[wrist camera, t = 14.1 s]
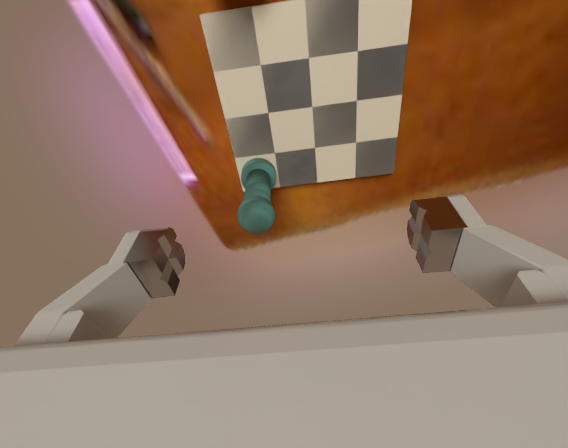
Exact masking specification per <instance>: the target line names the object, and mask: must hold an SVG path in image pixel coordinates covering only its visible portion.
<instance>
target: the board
mask: <svg viewBox="0 0 568 448" xmlns="http://www.w3.org/2000/svg"><path fill="white" fill-rule="evenodd" d="M411 7H412V0H288V1H281V2H275V3H269V4H262V5H256V6H249V7H243V8H237V9H230V10H224V11H218V12H211V13H205V14H201V15H200V19H201V23H202V28H203V32H204V36H205V40H206V44H207V48H208V52H209V56H210V60H211V64H212V68H213V72H214V76H215V80H216V84H217V88H218V92H219V96H220V100H221V104H222V108H223V112H224V116H225V120H226V124H227V128H228V132H229V136H230V140H231V144H232V148H233V152H234V157H235V161H236V165H237V169H238V173H239V177H240V181H241V173H242V168H243V166H244V164H245V163H246V162H247V161H249V160H251V159H254V158H263V159H266V160H268V161H269V162H271V163H272V164H273V166H274V168H275V171H276V183H275V186H274V187H273V188H278V187H286V186H294V185H302V184H310V183H318V182H326V181H334V180H342V179H350V178H358V177H366V176H374V175H382V174H390V173H394V165H395V155H396V146H397V137H398V128H399V118H400V109H401V100H402V90H403V81H404V72H405V62H406V53H407V44H408V34H409V25H410V16H411ZM241 185H242V183H241ZM242 189H243V192H245V188H244V187H243V185H242Z"/></svg>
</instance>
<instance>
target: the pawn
mask: <svg viewBox="0 0 568 448" xmlns="http://www.w3.org/2000/svg"><path fill="white" fill-rule="evenodd" d="M241 183H242V185H243V187H244V188H245V196H244V202H243V203H242V204H241V205H240V207H239V210H238V220H239V223H240V225H241V226H242V228H243V229H245V230H246V231H247V232H250V233H253V234H260V233H264V232H266V231H267V230H269V229H270V228H271V227H272V225H273V223H274V221H275V209H274V207H273V205H272V204H271V190H272V189H273V187H274V186H275V183H276V171H275V168H274V166H273V164H272V163H271V162H269V161H268V160H266V159H263V158H254V159H251V160H249V161H247V162H246V163H245V164H244V166H243V168H242V173H241Z"/></svg>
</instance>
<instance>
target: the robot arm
mask: <svg viewBox="0 0 568 448" xmlns="http://www.w3.org/2000/svg"><path fill="white" fill-rule="evenodd" d="M410 212H411V215H412V217H411V218H410V219H409V220H408V225H407V234H408V239H409V243H410V245H411V247H412V248H413V249H414V250H416V251H417V255H416V259H417V261H418V263H419V265H420V268H421V270H422V272H423V273H429V272H443V271H451V273H452V274H453V275H455V276H456V277H457V278H458V279H460V280H461V281H462V282H464V283H465V284H466V285H467V286H469V287H470V288H471V289H473V290H474V291H475V292H477V293H478V294H479V295H480V296H482V297H483V298H484V299H486V300H487V301H488V302H489V303H491V304H492V305H493V306H495V307H496V308H485V309H474V310H461V311H448V312H436V313H424V314H410V315H398V316H385V317H372V318H360V319H347V320H335V321H322V322H311V323H297V324H284V325H272V326H259V327H247V328H234V329H222V330H211V331H210V330H209V331H197V332H185V333H172V334H160V335H147V336H135V337H122V338H117V337H118V336H119V335H120V334H121V333H122V332H123V330H125V328H126V327H127V326H128V325H129V324H130V323H131V322H132V321H133V320H134V318H135V317H136V316H137V315H138V314H139V313H140V312H141V311H142V310H143V309H144V307H145V306H146V305H147V304H148V303H149V302H150V301H151V298H158V297H167V296H175V294H176V290H177V288H178V285H179V281H180V280H179V278H178V275H179V274H180V273H181V272H182V271H183V269H184V265H185V254H184V250H183V248H182V245H181V244H179V243H177V242H176V241H175V239H176V236H177V235H176V234H175V232H174V230H173V229H172V228H170V227H168V228H157V229H146V230H138V231H129V232H128V233H126V234H125V236H124V237H123V239H122V241H121V243H120V244H119V246H118V248H117V250H116V251H115V253H114V255H113V256H112V258H111V260H110V261H109V263H108V265H103V266H102V267H100V268H99V269H97V270H96V271H95V272H93V273H92V274H90V275H89V276H88V277H86V278H85V279H83V280H82V281H81V282H79V283H78V284H77V285H75V286H74V287H72V288H71V289H70V290H68V291H67V292H66V293H64V294H63V295H61V296H60V297H59V298H57V299H56V300H54V301H53V302H52V303H50V304H49V305H48V306H46V307H45V308H43V309H42V310H41V311H39V312H38V313H37V314H36V316H35V317H34V318H33V320H32V321H31V323H30V324H29V326H28V327H27V328H26V330H25V332H24V333H23V334H22V335H21V337H20V338H19V340H18V341H17V343H16V344H15V345H14V346H9V347H0V448H568V259H565V258H563V257H561V256H559V255H556V254H554V253H552V252H550V251H548V250H546V249H544V248H541V247H539V246H537V245H534V244H533V243H530V242H528V241H526V240H524V239H522V238H519V237H517V236H515V235H513V234H511V233H508V232H506V231H504V230H502V229H500V228H498V227H495V226H493V225H490V226H487V224H486V223H485V222H484V221H483V219H482V218H481V217H480V216H479V214H478V213H477V212H476V211H475V209H474V208H473V207H472V205H471V204H470V203H469V201H468V200H467V199H466V198H465V196H464V195H462V194H456V195H449V196H444V197H437V198H428V199H419V200H412V202H411V204H410Z"/></svg>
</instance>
